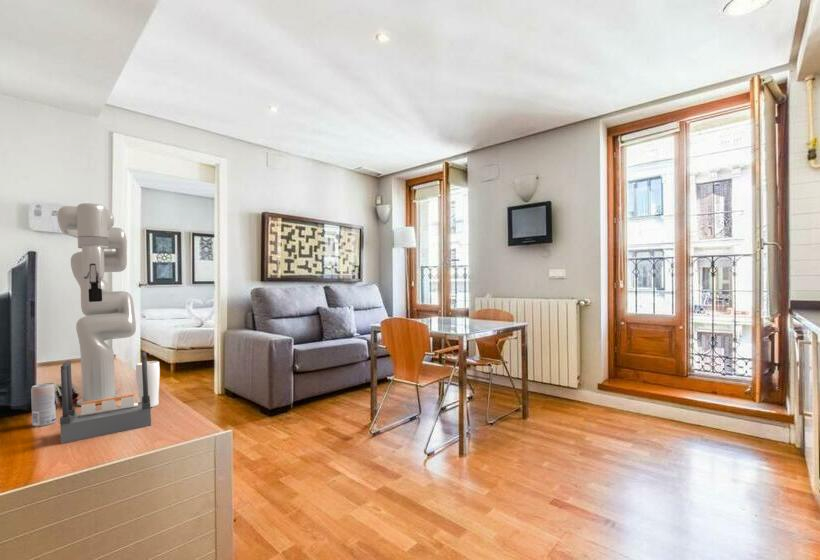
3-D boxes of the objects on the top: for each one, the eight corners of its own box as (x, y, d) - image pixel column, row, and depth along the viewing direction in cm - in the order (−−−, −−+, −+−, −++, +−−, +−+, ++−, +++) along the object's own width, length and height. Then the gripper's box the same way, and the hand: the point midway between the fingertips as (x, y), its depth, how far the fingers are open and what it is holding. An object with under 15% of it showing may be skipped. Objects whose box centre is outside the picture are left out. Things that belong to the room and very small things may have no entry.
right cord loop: (142, 401, 123) (140, 351, 123) (149, 400, 124) (147, 351, 124) (142, 410, 115) (140, 356, 115) (150, 408, 116) (148, 355, 116)
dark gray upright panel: (66, 414, 113) (64, 360, 113) (75, 413, 114) (73, 359, 114) (60, 425, 104) (57, 366, 104) (70, 423, 106) (67, 365, 106)
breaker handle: (77, 416, 111) (77, 402, 111) (138, 405, 119) (137, 393, 119) (77, 417, 110) (76, 404, 110) (138, 406, 118) (137, 394, 118)
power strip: (66, 432, 113) (66, 415, 113) (150, 416, 124) (149, 400, 124) (61, 443, 105) (60, 425, 105) (151, 425, 116) (150, 408, 116)
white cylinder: (135, 411, 130) (133, 365, 130) (140, 405, 137) (138, 362, 137) (159, 407, 133) (157, 363, 133) (162, 402, 139) (161, 360, 139)
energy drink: (53, 419, 125) (51, 382, 125) (58, 422, 122) (56, 384, 122) (30, 425, 121) (28, 386, 121) (34, 428, 117) (33, 388, 117)
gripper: (80, 245, 128) (83, 301, 128) (74, 240, 116) (77, 303, 116) (109, 245, 132) (111, 300, 132) (106, 241, 120) (109, 301, 120)
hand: (95, 301), depth 124 cm, fingers closed
